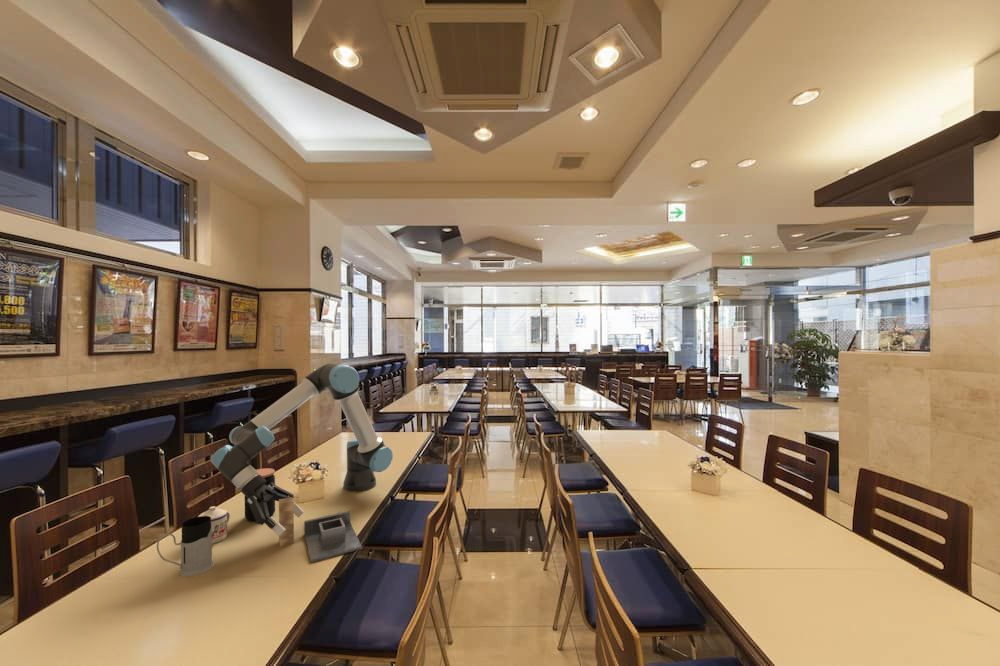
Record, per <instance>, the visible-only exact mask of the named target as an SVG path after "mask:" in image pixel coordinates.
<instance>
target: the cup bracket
mask: <svg viewBox="0 0 1000 666" xmlns="http://www.w3.org/2000/svg"><path fill="white" fill-rule="evenodd" d="M303 524H304V525H303V531H304V532H303V534H304V539H305V543H306V547H307V552H308V557H309V562H310V563H311V564H312V563H315V562H319V561H323V560H327V559H332V558H334V557H337V556H341V555H345V554H349V553H352V552H356V551H359V550H363V545H362V544H361V541H360V539H359V538H358V535H357V534H356V532H355V530H354V527H353V525H352V523H351V511H350V510H347V511H343V512H338V513H333V514H330V515H329V514H328V515H325V516H320V517H317V518H311V519H307V520H304V521H303Z"/></svg>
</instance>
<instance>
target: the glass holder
mask: <svg viewBox="0 0 1000 666" xmlns="http://www.w3.org/2000/svg"><path fill="white" fill-rule="evenodd" d="M167 536H171V537H172V538H173V543H174V545H175V546H179V545H180V562H181V563H178V562H177V561H176V562H175V561H171V560H170V559H167V558H165V557H164V556H163V555H162V554H161V552H160V549H159V546H160V545H159V544H160V541H161V540H162V539H163V538H164V537H167ZM212 547H213V544H212V524H211V517H209V516H200V517H198V516H195V517H192V518H189V519H187V520H185V521H183V522H182V523H181V540H180V542H179V543H177V540H176V537H175V535H174V534H173V533H165V534H164V535H162V536H161V537H159V538H158V539H157V542H156V550H157V551H156V552H157V553H158V556H160V558H161V560H163V561H165V562H166V563H171V564H174V565H177V566H179V569H180V571H179V576H181V577H184V578H185V577H186V578H187V577H193V576H197V575H201V574H203V573H206V572H207V571H209V570H210V569H212V568H213V566H214V565H215V564H214V560H213V548H212Z"/></svg>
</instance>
